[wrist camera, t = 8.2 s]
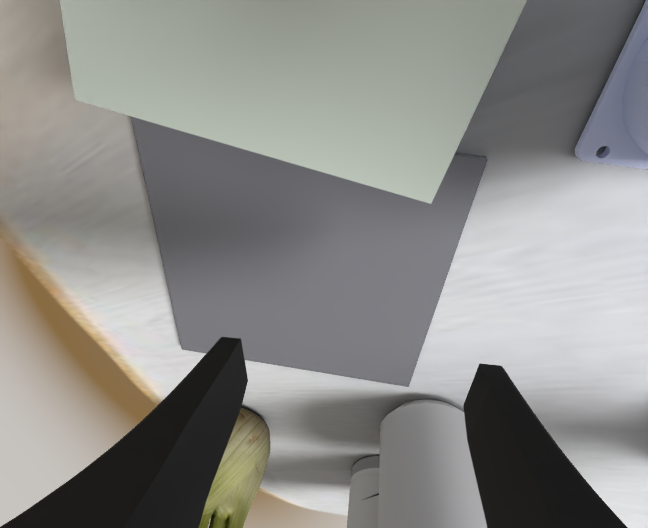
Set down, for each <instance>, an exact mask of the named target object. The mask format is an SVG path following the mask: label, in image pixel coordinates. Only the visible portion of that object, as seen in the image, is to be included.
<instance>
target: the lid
mask: <svg viewBox="0 0 648 528" xmlns="http://www.w3.org/2000/svg"><path fill="white" fill-rule="evenodd" d="M526 1H527V0H60V7H61V13H62V20H63V26H64V33H65V40H66V46H67V53H68V59H69V66H70V73H71V79H72V86H73V92H74V99H75V100H76V101H80V102H83V103H87V104H90V105H94V106H97V107H100V108H104V109H107V110H111V111H114V112H118V113H121V114H124V115H128V116H131V117H135V118H138V119H142V120H145V121H148V122H152V123H155V124H159V125H162V126H166V127H169V128H172V129H176V130H179V131H183V132H186V133H190V134H193V135H196V136H200V137H203V138H207V139H210V140H214V141H217V142H220V143H224V144H227V145H231V146H234V147H238V148H241V149H244V150H248V151H251V152H255V153H258V154H262V155H265V156H268V157H272V158H275V159H279V160H282V161H286V162H289V163H292V164H296V165H299V166H303V167H306V168H310V169H313V170H316V171H320V172H323V173H327V174H330V175H334V176H337V177H340V178H344V179H347V180H351V181H354V182H358V183H361V184H364V185H368V186H371V187H375V188H378V189H382V190H385V191H388V192H392V193H395V194H399V195H402V196H406V197H409V198H412V199H416V200H419V201H423V202H426V203H430V204H431V203H432V201H433V199H434V197H435V195H436V192H437V190H438V188H439V186H440V184H441V182H442V180H443V178H444V175H445V173H446V171H447V169H448V167H449V165H450V163H451V161H452V158H453V156H454V154H455V152H456V150H457V148H458V146H459V144H460V142H461V139H462V137H463V135H464V133H465V131H466V129H467V127H468V125H469V122H470V120H471V118H472V116H473V114H474V112H475V110H476V108H477V105H478V103H479V101H480V99H481V97H482V95H483V93H484V91H485V88H486V86H487V84H488V82H489V80H490V78H491V76H492V74H493V71H494V69H495V67H496V65H497V63H498V61H499V59H500V57H501V55H502V52H503V50H504V48H505V46H506V44H507V42H508V40H509V38H510V35H511V33H512V31H513V29H514V27H515V25H516V23H517V21H518V18H519V16H520V14H521V12H522V10H523V8H524V6H525V4H526Z"/></svg>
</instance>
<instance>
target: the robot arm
mask: <svg viewBox="0 0 648 528" xmlns="http://www.w3.org/2000/svg"><path fill="white" fill-rule="evenodd" d="M602 146H606V149H605V151H604V152H603V153H601V154H600V155H596V152H597V150H598V149H599V148H601V147H602ZM575 155H576V156H577V157H578V158H579V159H580V160H582V161H585V162H593V163H601V164H609V165H617V166H625V167H633V168H641V169H648V0H646V1H645V4H644V6H643V8H642V10H641V12H640V14H639V16H638V18H637V20H636V22H635V24H634V26H633V28H632V31H631V33H630V35H629V37H628V39H627V41H626V43H625V45H624V47H623V49H622V51H621V53H620V56H619V58H618V60H617V62H616V64H615V66H614V68H613V70H612V72H611V74H610V76H609V78H608V80H607V83H606V85H605V87H604V89H603V91H602V93H601V95H600V97H599V99H598V101H597V103H596V105H595V108H594V110H593V112H592V114H591V116H590V118H589V120H588V122H587V124H586V126H585V128H584V130H583V132H582V135H581V137H580V139H579V141H578V143H577V145H576V147H575ZM247 382H248V379H247V373H246V366H245V360H244V354H243V348H242V341H241V339H240V338H230V337H221V338H220V339H219V340H218V341H217V342H216V343H215V344H214V346H213V347H212V348H211V349H210V350H209V351H208V353H207V354H206V355H205V356H204V357H203V358H202V359H201V361H200V362H199V363H198V364H197V365H196V366H195V367H194V368H193V370H192V371H191V372H190V373H189V374H188V375H187V376H186V377H185V378H184V379H183V380H182V381H181V382H180V383H179V385H178V386H177V387H176V388H175V389H174V390H173V391H172V392H171V393H170V394H169V395H168V396H167V397H166V398H165V399H164V400H163V401H162V402H161V403H160V404H159V405H158V406H157V407H156V408H155V409H154V410H153V411H152V412H151V413H150V414H149V415H148V416H146V417H145V418H144V419H143V420H142V421H141V422H140V423H139V424H138V425H137V426H136V427H135V428H134V429H132V430H131V431H130V432H129V433H128V434H127V435H125V436H124V437H123V438H122V439H121V440H120V441H119V442H117V443H116V444H115V445H114V446H113V447H111V448H110V449H109V450H108V451H106V452H105V453H104V454H103V455H101V456H100V457H99V458H98V459H96V460H95V461H94V462H93V463H91V464H90V465H89V466H88V467H86V468H85V469H84V470H83V471H81V472H80V473H78V474H77V475H76V476H74V477H73V478H72V479H70V480H69V481H68V482H66V483H65V484H64V485H62V486H60V487H59V488H58V489H56V490H55V491H54V492H52V493H51V494H49V495H48V496H46V497H45V498H43V499H42V500H40V501H39V502H38V503H36V504H35V505H33V506H32V507H31V508H29V509H28V510H26V511H25V512H23V513H22V514H20V515H19V516H17V517H16V518H14V519H12V520H11V521H9V522H8V523H6V524H4V525H3V526H1V527H0V528H199V525H200V521H201V518H202V514H203V511H204V507H205V504H206V501H207V498H208V495H209V492H210V489H211V486H212V483H213V480H214V478H215V475H216V473H217V470H218V467H219V465H220V462H221V460H222V457H223V455H224V452H225V449H226V447H227V444H228V442H229V439H230V436H231V434H232V431H233V428H234V426H235V423H236V421H237V418H238V415H239V413H240V409H241V405H242V401H243V398H244V394H245V390H246V386H247ZM464 415H465V425H466V433H467V441H468V446H469V450H470V455H471V459H472V463H473V468H474V472H475V477H476V481H477V485H478V489H479V494H480V498H481V502H482V507H483V511H484V515H485V520H486V524H487V528H627V527H626V525H625V524H624V523H623V522H622V521H621V520H620V519H619V518H618V517H617V516H616V515H615V514H614V512H613V511H612V510H611V509H610V508H609V507H608V506H607V505H606V504H605V502H604V501H603V500H602V499H601V498H600V497H599V496H598V494H597V493H596V492H595V491H594V490H593V489H592V487H591V486H590V485H589V484H588V483H587V481H586V480H585V479H584V478H583V477H582V475H581V474H580V473H579V472H578V471H577V469H576V468H575V467H574V466H573V464H572V463H571V462H570V461H569V459H568V458H567V457H566V456H565V454H564V453H563V452H562V450H561V449H560V448H559V447H558V445H557V444H556V443H555V441H554V440H553V438H552V437H551V436H550V434H549V433H548V432H547V430H546V429H545V428H544V426H543V425H542V424H541V422H540V421H539V420H538V418H537V417H536V415H535V414H534V413H533V411H532V410H531V408H530V407H529V405H528V404H527V402H526V401H525V400H524V398H523V397H522V395H521V394H520V392H519V391H518V389H517V388H516V386H515V385H514V383H513V382H512V380H511V379H510V377H509V376H508V374H507V373H506V371H505V370H504V369H503V367H502V366H497V365H488V364H479V367H478V369H477V372H476V375H475V377H474V380H473V382H472V385H471V387H470V390H469V393H468V395H467V398H466V400H465V403H464Z"/></svg>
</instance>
